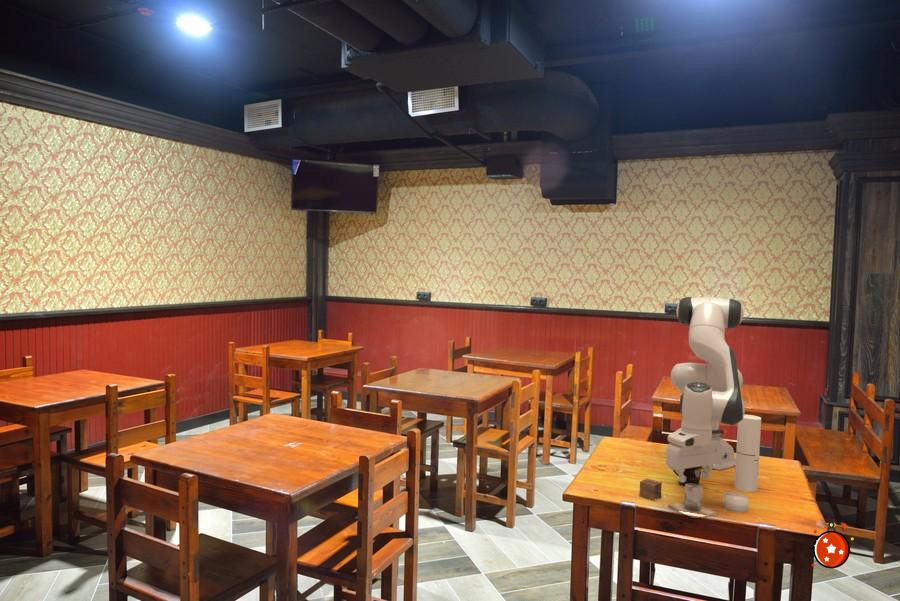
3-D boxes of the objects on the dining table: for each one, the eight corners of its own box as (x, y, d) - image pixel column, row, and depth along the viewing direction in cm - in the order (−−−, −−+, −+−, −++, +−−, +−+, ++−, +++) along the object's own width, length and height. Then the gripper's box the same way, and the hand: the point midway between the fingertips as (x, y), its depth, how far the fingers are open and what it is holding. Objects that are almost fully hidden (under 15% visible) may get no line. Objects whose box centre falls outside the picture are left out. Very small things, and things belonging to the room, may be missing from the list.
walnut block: (646, 493, 202) (647, 478, 202) (661, 497, 198) (661, 482, 198) (639, 496, 199) (640, 481, 198) (653, 501, 195) (654, 485, 195)
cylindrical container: (730, 484, 213) (734, 414, 212) (751, 485, 213) (755, 414, 212) (739, 491, 206) (743, 419, 205) (761, 492, 206) (765, 419, 205)
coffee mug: (695, 480, 216) (697, 453, 215) (706, 489, 207) (708, 460, 207) (663, 480, 215) (664, 452, 215) (673, 488, 207) (674, 459, 206)
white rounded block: (733, 503, 195) (734, 491, 195) (752, 511, 189) (753, 498, 189) (718, 506, 192) (718, 493, 192) (736, 514, 186) (737, 501, 186)
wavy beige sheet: (691, 503, 194) (692, 500, 194) (717, 514, 185) (717, 512, 185) (668, 507, 190) (668, 504, 190) (692, 519, 181) (692, 516, 181)
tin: (692, 504, 191) (693, 482, 190) (704, 510, 186) (706, 487, 186) (680, 506, 189) (681, 484, 188) (692, 512, 184) (694, 489, 184)
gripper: (712, 430, 194) (710, 472, 195) (663, 436, 185) (661, 480, 186) (728, 435, 188) (726, 479, 189) (678, 442, 180) (676, 487, 180)
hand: (693, 479), depth 187 cm, fingers open, 8 cm apart
